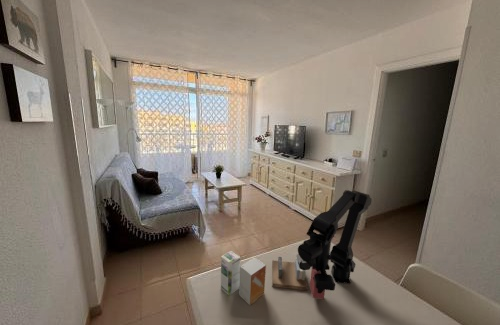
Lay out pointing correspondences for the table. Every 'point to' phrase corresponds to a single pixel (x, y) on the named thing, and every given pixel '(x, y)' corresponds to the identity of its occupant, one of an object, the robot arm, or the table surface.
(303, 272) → the shelved books
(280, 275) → the bookend
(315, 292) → the red flat-faced block
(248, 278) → the small box
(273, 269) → the shelf
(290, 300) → the table surface
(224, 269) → the syrup box
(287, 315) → the table surface
